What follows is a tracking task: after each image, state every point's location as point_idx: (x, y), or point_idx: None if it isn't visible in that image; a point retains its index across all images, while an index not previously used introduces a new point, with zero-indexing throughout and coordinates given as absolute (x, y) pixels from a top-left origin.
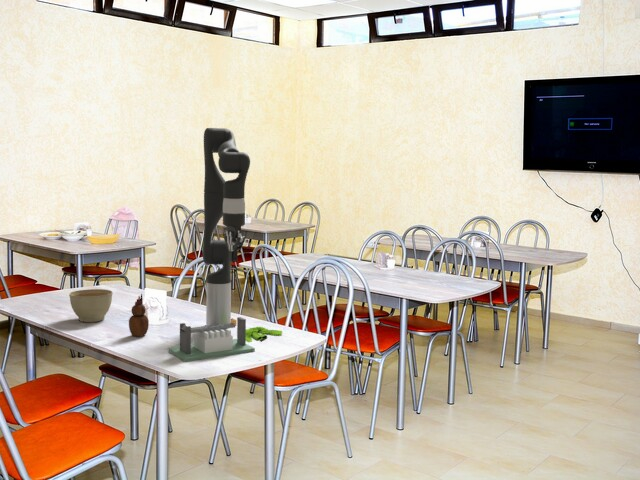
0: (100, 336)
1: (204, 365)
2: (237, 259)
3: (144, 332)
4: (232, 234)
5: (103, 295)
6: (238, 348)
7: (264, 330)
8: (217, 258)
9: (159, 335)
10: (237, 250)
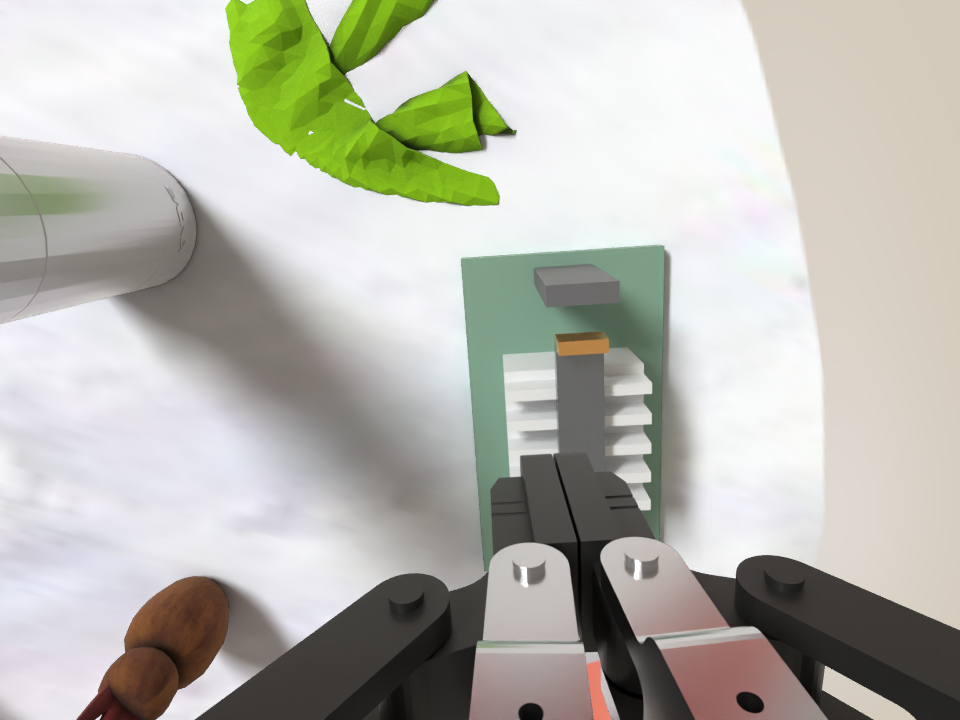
0: (173, 714)
1: (740, 510)
2: (588, 460)
3: (219, 594)
4: None
5: None
6: (629, 318)
7: (350, 31)
8: None
9: (227, 526)
10: (710, 588)
